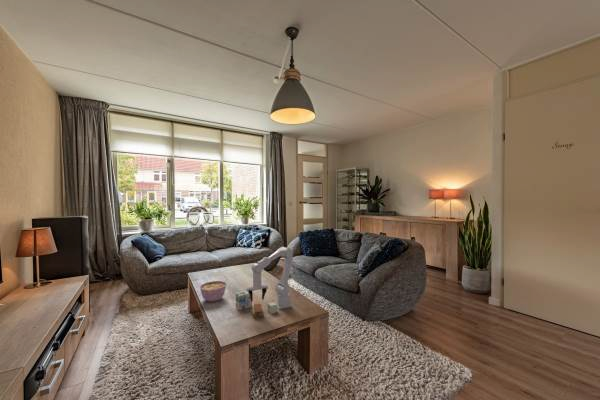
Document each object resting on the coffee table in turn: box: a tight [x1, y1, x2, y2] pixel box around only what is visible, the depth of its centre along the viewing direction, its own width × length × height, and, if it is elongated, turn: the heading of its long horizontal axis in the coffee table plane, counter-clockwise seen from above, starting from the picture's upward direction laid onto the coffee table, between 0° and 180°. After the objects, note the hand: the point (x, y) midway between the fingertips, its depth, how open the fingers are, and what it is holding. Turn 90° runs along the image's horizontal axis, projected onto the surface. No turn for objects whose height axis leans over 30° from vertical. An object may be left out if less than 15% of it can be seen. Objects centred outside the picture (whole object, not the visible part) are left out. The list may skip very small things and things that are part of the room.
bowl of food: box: [199, 280, 227, 303], centre depth 193 cm, size 20×20×12 cm
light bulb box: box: [235, 289, 253, 311], centre depth 180 cm, size 11×7×11 cm, turn 126°
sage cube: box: [267, 301, 278, 315], centre depth 172 cm, size 5×5×6 cm
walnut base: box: [251, 306, 265, 319], centre depth 167 cm, size 7×7×4 cm
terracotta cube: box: [253, 300, 262, 312], centre depth 168 cm, size 5×5×6 cm
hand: (257, 300), depth 167 cm, fingers open, 7 cm apart
